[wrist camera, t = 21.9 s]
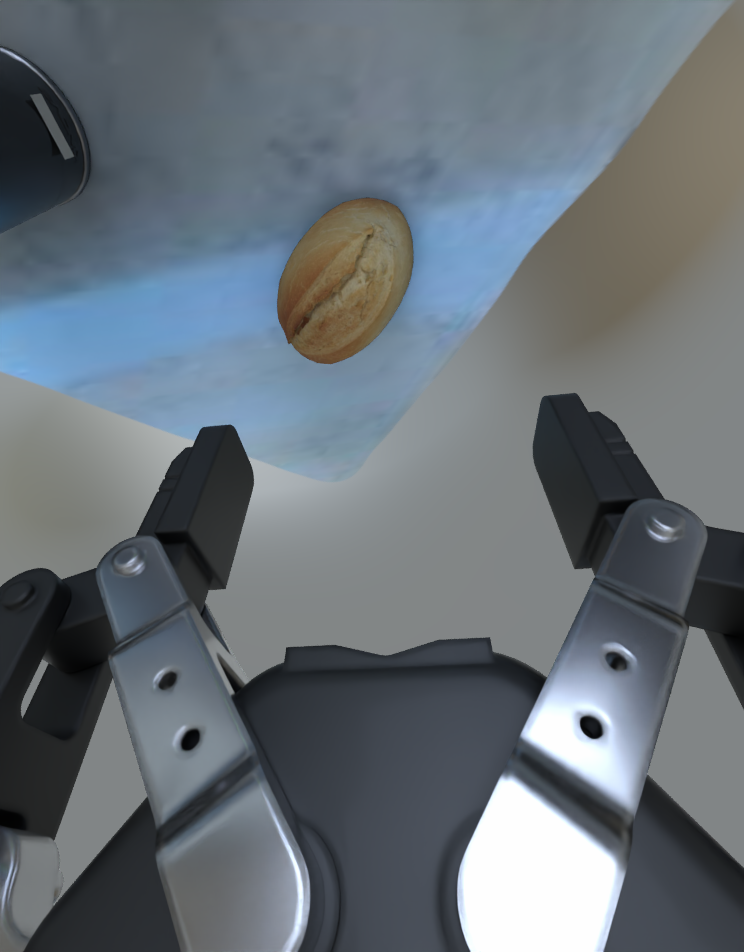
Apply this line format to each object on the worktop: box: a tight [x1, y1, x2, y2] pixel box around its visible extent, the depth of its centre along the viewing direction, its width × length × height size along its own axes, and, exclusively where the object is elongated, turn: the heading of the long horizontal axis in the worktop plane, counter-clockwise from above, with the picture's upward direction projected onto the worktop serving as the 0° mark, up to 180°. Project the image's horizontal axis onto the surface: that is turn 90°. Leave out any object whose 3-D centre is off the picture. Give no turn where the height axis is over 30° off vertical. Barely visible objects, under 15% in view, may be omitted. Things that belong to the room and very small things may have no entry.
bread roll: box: [277, 198, 413, 364], centre depth 37 cm, size 10×15×8 cm, turn 146°
